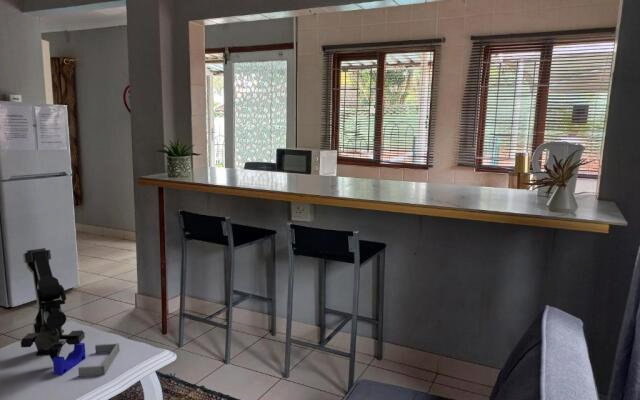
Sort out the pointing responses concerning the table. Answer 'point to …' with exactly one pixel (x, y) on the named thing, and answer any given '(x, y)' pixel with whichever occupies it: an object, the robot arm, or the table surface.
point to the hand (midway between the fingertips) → (55, 361)
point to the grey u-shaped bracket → (103, 368)
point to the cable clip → (69, 359)
